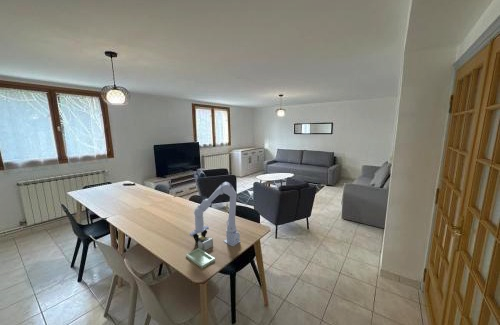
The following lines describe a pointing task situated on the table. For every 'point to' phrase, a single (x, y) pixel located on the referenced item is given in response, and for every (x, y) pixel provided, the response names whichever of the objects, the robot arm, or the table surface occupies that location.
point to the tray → (200, 257)
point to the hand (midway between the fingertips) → (200, 241)
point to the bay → (206, 244)
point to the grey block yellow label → (201, 238)
